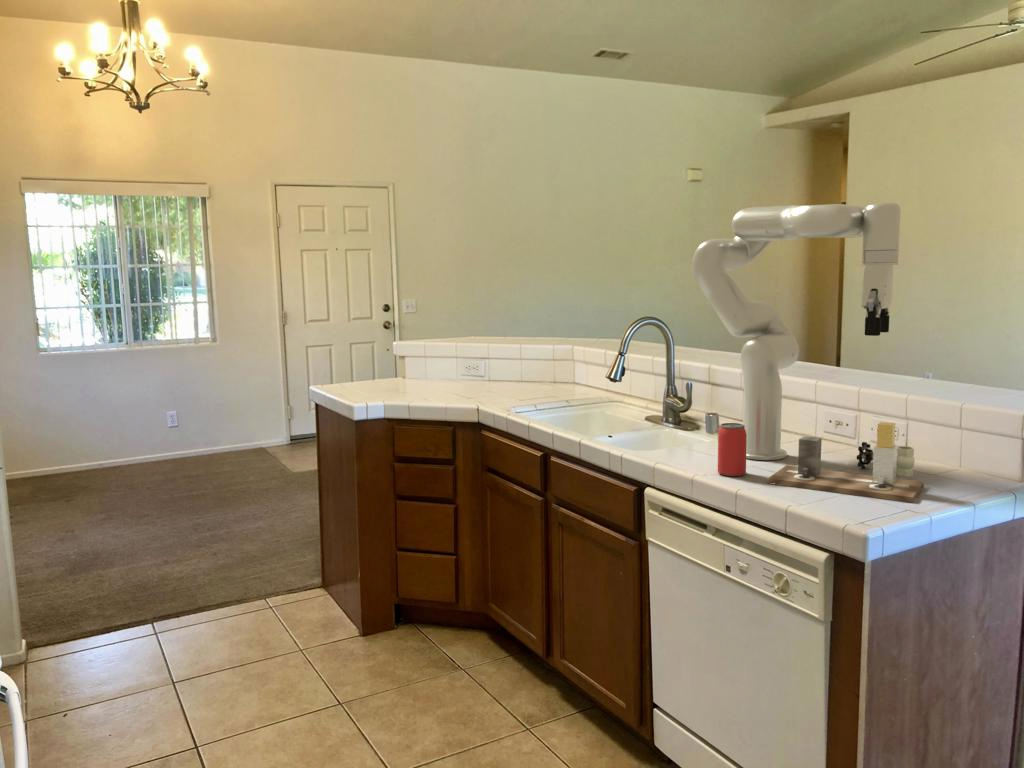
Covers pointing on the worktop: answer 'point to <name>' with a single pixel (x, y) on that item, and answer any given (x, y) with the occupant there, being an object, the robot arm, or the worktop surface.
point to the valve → (903, 459)
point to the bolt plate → (839, 477)
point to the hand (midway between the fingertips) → (876, 333)
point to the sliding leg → (885, 455)
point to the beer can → (732, 449)
